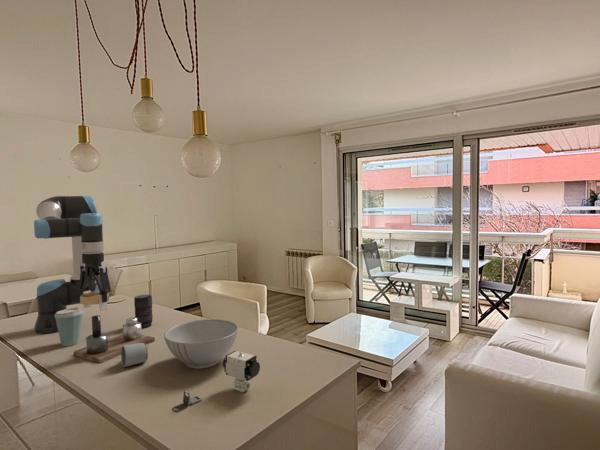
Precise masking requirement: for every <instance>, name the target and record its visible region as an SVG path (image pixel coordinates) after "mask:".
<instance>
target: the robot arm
mask: <svg viewBox="0 0 600 450" xmlns="http://www.w3.org/2000/svg"><path fill="white" fill-rule="evenodd" d="M35 211H36V216H37V217H38V218H39V219H35V220H34V221H33V230H34V238H36V239H45V240H46V239H57V238H59V239H60V238H71V245H72V246H71V247H72V251H71V252H72V268H73V273H72V275H71V276H70V277H69V281H66V280H65V279H64V278H61V279H54V280H49V281H45V282H42V283H40V284H38V285H37V287H36V295H35V296H36V299H37V317H36V321H35V324H34V326H33V327H34V328H33V329H34V333H35V334H39V335H40V334H41V335H43V334H52V333H53V334H54V333H59V332H58V328H57V323H56V318H55V314H56V312H58V311H61V310H64V309H68V308H67V306H72V305H79V304H80V296H81V295H82V294H85V293H89V292H96V291H100V293H99V304H98V305H99V312H104V311H107V310H108V301H107V293H109V294H110V293H111V292H112V290H111V284H110V279H109V274H108V267H107V266H105V267H103V265H102V263H103V262H104V260H105V253H104V238H103V237H104V236H103V235H104V234H103V222H104V221H103V216H102V214H101V213H98V209H97V205H96V201H95V199H94V197H92V196H89V195H73V196H72V195H64V196H63V195H57V196H52V197H48V198H46V199H44V200H42V201H41V202H39V204H37V207H36V210H35ZM80 305H81V304H80ZM92 306H93V305H84V304H83V308H84V309H86V308H87V309H88V308H90V307H92Z"/></svg>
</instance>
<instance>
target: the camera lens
mask: <svg viewBox="0 0 600 450" xmlns="http://www.w3.org/2000/svg"><path fill="white" fill-rule="evenodd" d="M133 301H134V302H133V303H134V317H137V322H141V329H146V328H149V327H151V326H152V325H153V324H152V323H153V317H154V316H153V297H152V295H151V294H140V295H136V296H134V300H133Z"/></svg>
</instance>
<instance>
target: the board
mask: <svg viewBox="0 0 600 450" xmlns="http://www.w3.org/2000/svg"><path fill="white" fill-rule="evenodd" d="M155 340H156V339H155V337H152V336H149V335H145V334H142V337H141V338H140V339H138V340H134V341H124V340H123V333H122V334H119V335H117V336H112V337H111V338H108V350H107V351H106V352H104V353H101V354H96V355H89V354H87V346H85V347H82V348H80V349H76V350H73V356H75V357H80V358H81V359H86V360H89V361H92V362H95V363H99V364H102V363H104V362H106V361H109V360H111V359H113V358H117V357H118V356H121V349H122V346H124V345H131V344H137V343H145V344H146V345H148V344H151V343H153V342H155Z"/></svg>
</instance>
